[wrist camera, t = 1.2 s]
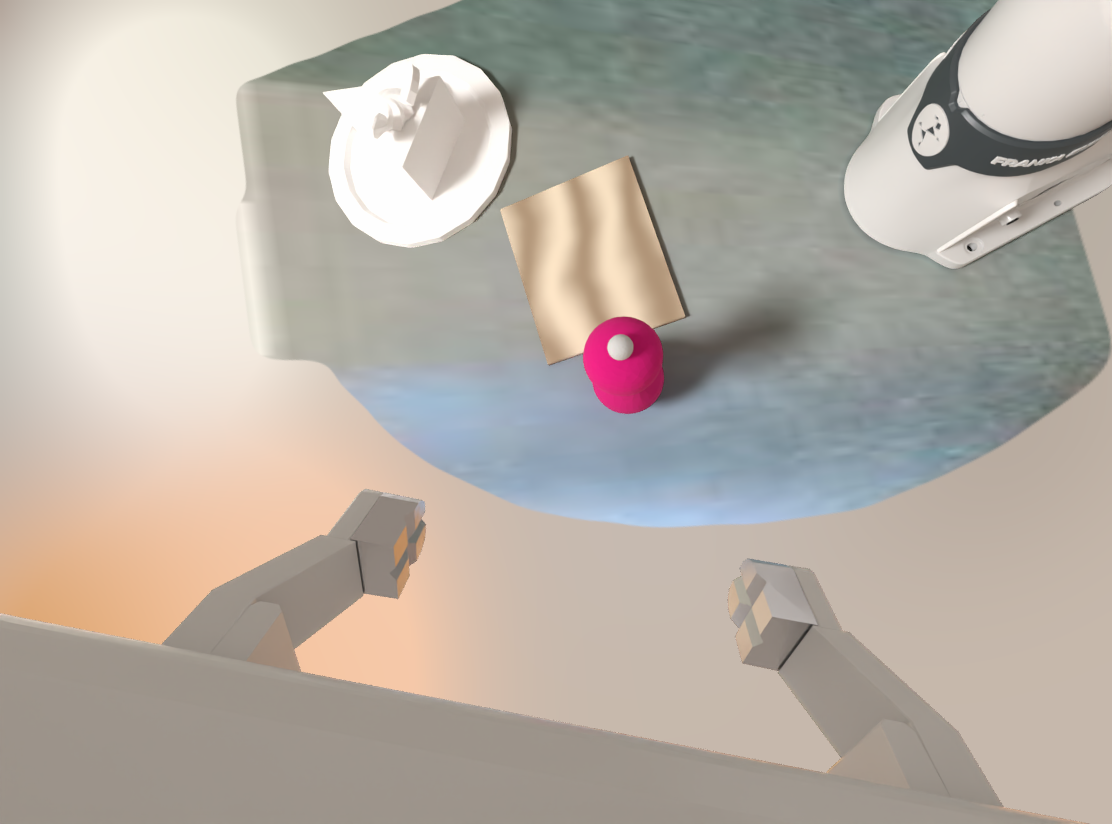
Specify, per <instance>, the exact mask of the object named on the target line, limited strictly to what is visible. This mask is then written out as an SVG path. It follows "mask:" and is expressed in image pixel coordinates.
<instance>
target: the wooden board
mask: <svg viewBox="0 0 1112 824" xmlns="http://www.w3.org/2000/svg"><path fill="white" fill-rule="evenodd" d="M500 211H501V214H502V217H503V220H504V224H505V227H506V230H507V233H508V237H509V240H510V243H511V246H512V249H513V253H514V256H515V259H516V262H517V266H518V269H519V272H520V275H521V279H522V282H523V285H524V288H525V292H526V295H527V298H528V301H529V305H530V308H531V311H532V314H533V317H534V321H535V324H536V327H537V330H538V334H539V337H540V340H541V343H542V347H543V350H544V353H545V356H546V360H547V363H548V365H552V364H555V363H558V362H560V361H563V360H566V359H569V358H572V357H575V356H577V355H580V354H583V352H584V347H585V344H586V341H587V339H588V337H589V335H590V334H591V332H592V331H593V330H594V329H595V328H596V327H597V326H598V325H599V324H601V323H603V322H604V321H606V320H608V319H611V318H614V317H623V316H625V317H633V318H636V319H639V320H641V321H644V322H645V323H646V324H648V325H649V326H650V327H651V328H652V329H655V328H657V327H660V326H663V325H666V324H669V323H672V322H675V321H677V320H680V319H683V318H685V314H684V311H683V308H682V306H681V303H680V300H679V297H678V294H677V292H676V289H675V286H674V283H673V280H672V278H671V275H670V272H669V269H668V266H667V263H666V261H665V258H664V255H663V252H662V249H661V247H660V244H659V241H658V238H657V235H656V233H655V230H654V227H653V224H652V221H651V219H650V216H649V213H648V210H647V207H646V205H645V202H644V199H643V196H642V193H641V190H640V188H639V185H638V182H637V179H636V176H635V174H634V171H633V168H632V165H631V162H630V160H629V157H628V156H625V157H623V158H621V159H618V160H616V161H614V162H611V163H609V164H607V165H604V166H602V167H599V168H597V169H595V170H592V171H590V172H588V173H585V174H583V175H580V176H578V177H576V178H573V179H571V180H569V181H566V182H564V183H562V184H559V185H557V186H554V187H552V188H550V189H547V190H545V191H543V192H540V193H538V194H536V195H533V196H531V197H528V198H526V199H524V200H521V201H519V202H517V203H514V204H512V205H510V206H507V207H505V208H502V209H500Z"/></svg>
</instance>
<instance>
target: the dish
mask: <svg viewBox="0 0 1112 824" xmlns="http://www.w3.org/2000/svg"><path fill="white" fill-rule="evenodd" d="M323 94H324V95H325V96H326V97H327V98H328V99H329V100H330V101H331V102H332V103H333V105H334V106H335V107H336V108H337V109H338V110H339V111H340V112H341V113H342V115H341V117H340V120H339V122H338V125H337V127H336V129H335V132H334V134H333V137H332V139H331V150H330V161H329V175H330V179H331V183H332V187H333V191H334V195H335V199H336V201H337V203H338V204H339V206H340V207H341V209H342V210H343V211H344V213H345V214H346V216H347V217H348V219H349V220H350V221H351V223H352V224H353V225H354V226H356V227H357V228H358V229H360V230H362V231H363V232H365V233H366V234H368V235H370V236H371V237H373V238H374V239H376V240H378V241H379V242H381V243H384V244H390V245H397V246H403V247H409V248H413V247H418V246H422V245H427V244H432V243H436V242H441V241H444V240H446V239H447V238H449V237H451V236H452V235H454V234H455V233H457V232H459V231H460V230H462V229H464V228H465V227H467V226H469V225H470V224H472V223H473V222H474V221H475V220H476V218H477V217H478V216H479V215H480V214H481V213H482V211H483V210H484V209H485V208H486V207H487V206H488V204H489V203H490V202H491V201H492V200H493V199H494V197H495V196H496V194H497V192H498V190H499V187H500V185H501V182H502V180H503V178H504V175H505V173H506V171H507V168H508V166H509V163H510V151H511V137H512V127H511V124H510V121H509V117H508V114H507V111H506V108H505V104H504V101H503V98H502V95H501V93H500V91H499V90H498V89H497V88H496V87H495V85H494V84H493V83H492V82H491V81H490V80H489V78H488V77H487V76H486V75H485V74H484V72H483V71H482V70H481V69H480V68H478V67H476V66H474V65H472V64H469V63H467V62H465V61H463V60H461V59H459V58H457V57H455V56H448V55H430V54H422V55H418V56H415V57H412V58H408V59H405V60H402V61H399V62H395V63H392V64H391V65H389V66H388V67H386V68H385V69H384V70H382V71H381V72H379V73H378V74H376V75H375V76H374V77H372V78H371V79H369V80H368V81H366V82H365V83H364V84H363V86H362V87H356V88H349V89H342V90H335V91H328V92H323Z"/></svg>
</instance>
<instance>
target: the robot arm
mask: <svg viewBox="0 0 1112 824" xmlns="http://www.w3.org/2000/svg"><path fill="white" fill-rule="evenodd" d="M1111 185H1112V0H998V1H997V2H996V4H995V5H994V6H993V7H992V8H991V9H990V10H988V11H987V12H985V13H984V14H983V15H982V16H981V17H979V18H978V19H977V20H976V21H975V22H974V23H973V24H972V25H971V26H970V27H969V28H968V30H966V31H965V32H964V34H962V35H961V36H960V38H958V39H957V40H956V42H955V43H954V44H953V45H952V47H951V48H950V49H949V50H948V51H947V53H945V52H943V53H941V54H939V55H938V56H937V57H935V58H934V59H933V60H932V61H931V62H930V63H929V64H928V65H927V67H926V68H925V69H924V70H923V71H922V72H921V73H920V74H919V76H918V77H917V78H916V79H915V80H914V81H913V82H912V83H911V84H910V86H909V87H908V88H907V89H906V90H905V91H904V92H903V94H900V95H896V96H892V97H890V98H888V99H887V100H886V101H885V102H884V103H883V104H882V105H881V106H880V107H879V109H878V110H877V113H876V115H875V118H874V121H873V125H872V129H871V132H870V133H869V135H868V136H867V138H866V139H865V140H864V141H863V143H862V144H861V145H860V146H859V148H858V149H857V150H856V152H855V153H854V155H853V157H852V158H851V160H850V163H849V165H848V168H847V171H846V175H845V181H844V194H845V200H846V204H847V207H848V209H849V212H850V214H851V216H852V217H853V219H854V220H855V222H856V223H857V224H858V226H859V227H860V228H861V229H862V230H863V231H864V232H865V233H866V234H868V235H869V236H870V237H872V238H873V239H875V240H876V241H878V242H880V243H882V244H884V245H886V246H889V247H892V248H895V249H898V250H903V251H908V252H914V253H919V254H923V255H926V256H927V257H929V258H931V259H932V260H934V261H936V262H937V263H939V264H941V265H943V266H945V267H948V268H951V269H958V268H961V267H964V266H966V265H967V264H969V263H971V262H973V261H975V260H977V259H979V258H981V257H982V256H984V255H986V254H988V253H990V252H992V251H994V250H995V249H997V248H999V247H1001V246H1003V245H1005V244H1007V243H1009V242H1010V241H1012V240H1014V239H1016V238H1018V237H1020V236H1022V235H1023V234H1025V233H1027V232H1029V231H1031V230H1033V229H1035V228H1036V227H1038V226H1040V225H1042V224H1044V223H1046V222H1048V221H1050V220H1051V219H1053V218H1055V217H1057V216H1059V215H1061V214H1063V213H1064V212H1066V211H1068V210H1070V209H1072V208H1074V207H1075V206H1077V205H1079V204H1081V203H1083V202H1085V201H1087V200H1089V199H1091V198H1092V197H1094V196H1096V195H1098V194H1099V193H1101V192H1102V191H1104V190H1105V189H1107V188H1108V187H1110V186H1111ZM967 246H969V247H971V249H972V251H969V250H968V249H967ZM424 513H425V503H424V501H422V500H419V499H414V498H409V497H404V496H400V495H395V494H389V493H383V492H378V491H373V490H369V489H364V490H363V491H361V492H360V493H359V494H358V495H357V497H356V498H355V499H354V501H353V502H352V504H351V505H350V506H349V507H348V508H347V510H346V511H345V512H344V514H343V515H342V516H341V518H340V519H339V520H338V522H337V523H336V524H335V526H334V527H333V528H332V530H331V531H330V532H329V534H328V535H327V536H324V535H320V536H318V537H316V538H314V539H312V540H310V541H308V542H306V543H304V544H302V545H300V546H298V547H296V548H294V549H292V550H290V551H288V552H286V553H284V554H282V555H280V556H278V557H276V558H274V559H272V560H270V561H268V562H267V563H264V564H262V565H260V566H259V567H256V568H254V569H253V570H251V571H249V572H247V573H245V574H243V575H241V576H239V577H237V578H235V579H233V580H231V581H229V582H227V583H225V584H223V585H221V586H219V587H217V588H215V589H213V590H212V591H211V592H210V593H209V594H208V595H207V596H206V597H205V598H204V599H203V600H202V601H201V603H200V604H199V605H198V606H197V607H196V608H195V609H194V610H193V611H192V612H191V613H190V614H189V615H188V617H187V618H186V619H185V620H184V621H183V622H182V623H181V624H180V625H179V626H178V627H177V628H176V629H175V631H174V632H173V633H172V634H171V635H170V636H169V637H168V638H167V639H166V640H165V641H164V642H163V643H162V645H159V644H155V643H149V642H144V641H139V640H134V639H129V638H124V637H118V636H113V635H108V634H103V633H97V632H93V631H88V630H82V629H77V628H72V627H67V626H62V625H57V624H52V623H46V622H41V621H36V620H30V619H26V618H21V617H16V616H11V615H6V614H1V613H0V824H1088V823H1082V822H1077V821H1072V820H1067V819H1062V818H1057V817H1051V816H1046V815H1041V814H1036V813H1031V812H1025V811H1020V810H1015V809H1010V808H1004V806H1003V805H1002V803H1001V802H1000V800H999V798H998V797H997V795H996V793H995V792H994V790H993V788H992V787H991V785H990V783H989V782H988V780H987V778H986V777H985V775H984V773H983V772H982V770H981V768H980V767H979V765H978V763H977V762H976V760H975V758H974V757H973V755H972V753H971V752H970V750H969V748H968V747H967V745H966V743H965V742H964V740H963V738H962V737H961V735H960V733H959V732H958V731H957V730H956V729H955V728H954V727H953V726H952V725H951V724H949V722H947V721H946V720H945V719H944V718H943V717H942V716H941V715H940V714H939V713H938V712H936V711H935V710H934V709H933V708H932V707H931V706H930V705H929V704H928V703H926V702H925V701H924V700H923V699H922V698H921V697H920V696H919V695H918V694H917V693H916V692H914V691H913V690H912V689H911V688H910V687H909V686H908V685H907V684H906V683H905V682H903V681H902V680H901V679H900V678H899V677H898V676H897V675H896V674H895V673H894V672H893V671H891V670H890V669H889V668H888V667H887V666H886V665H885V664H884V663H883V662H882V661H880V660H879V659H878V658H877V657H876V656H875V655H874V654H873V653H872V652H871V651H869V650H868V649H867V648H866V647H865V646H864V645H863V644H862V643H861V642H860V641H858V640H857V639H856V638H855V637H854V636H853V635H852V634H851V633H850V632H846V631H843V630H842V628H841V626H840V624H839V622H838V620H837V618H836V616H835V614H834V612H833V610H832V608H831V606H830V604H829V602H828V600H827V598H826V596H825V594H824V592H823V590H822V588H821V586H820V583H819V581H818V579H817V577H816V575H815V574H814V572H812V571H811V570H810V569H806V568H801V567H795V566H787V565H783V564H777V563H771V562H765V561H760V560H754V559H746V560H745V561H743V563H742V565H741V567H740V572H741V575H742V576H740V577H738V578H736V579H735V580H733V582H732V584H731V586H730V588H729V593H728V610H729V614H730V619H731V620H732V621H733V622H734V623H735V624H736V626H737V627H738V628H739V630H738V632H737V633H736V635H735V638H736V641H737V646H738V649H739V653H740V657H741V661H742V663H743V664H748V665H753V666H757V667H762V668H767V669H771V670H776V671H779V672H778V674H779V675H780V676H781V678H782V679H783V680H784V682H785V683H786V684H787V686H788V687H789V688H790V690H791V691H792V693H793V694H794V695H795V696H796V698H797V699H798V700H799V702H800V703H801V705H802V706H803V707H804V709H805V710H806V711H807V713H808V714H809V715H810V717H811V718H812V719H813V721H814V722H815V723H816V725H817V726H818V727H819V729H820V730H821V732H822V733H823V734H824V735H825V737H826V738H827V740H828V741H829V742H830V744H831V745H832V746H833V748H834V749H835V750H836V752H837V753H838V754H839V756H840V757H841V759H840V760H839V761H838V762H836V763H835V764H834V765H833V766H832V767H831V768H830V769H829V770H828V771H827V773H823V772H818V771H813V770H807V769H802V768H797V767H792V766H786V765H782V764H776V763H771V762H766V761H760V760H755V759H750V758H745V757H740V756H735V755H730V754H725V753H719V752H714V751H709V750H704V749H699V748H693V747H688V746H683V745H678V744H672V743H668V742H663V741H657V740H652V739H647V738H642V737H636V736H632V735H626V734H621V733H616V732H611V731H605V730H600V729H595V728H589V727H584V726H580V725H574V724H569V723H564V722H559V721H554V720H548V719H543V718H538V717H532V716H527V715H522V714H517V713H512V712H507V711H501V710H496V709H491V708H486V707H480V706H475V705H470V704H465V703H459V702H454V701H449V700H444V699H439V698H434V697H429V696H423V695H418V694H412V693H408V692H403V691H398V690H392V689H387V688H382V687H377V686H372V685H366V684H361V683H356V682H351V681H346V680H340V679H335V678H330V677H325V676H320V675H315V674H309V673H304V672H301V670H300V666H299V663H298V660H297V657H296V654H295V651H294V649H295V648H297V647H298V646H299V645H300V644H302V643H303V642H304V641H306V639H308V638H309V637H311V636H312V635H313V634H315V633H316V632H317V631H318V630H320V629H321V628H322V627H324V626H325V625H326V624H327V623H329V622H330V621H331V620H333V619H334V618H335V617H336V616H338V615H339V614H340V613H342V612H343V611H344V610H346V609H347V608H348V607H349V606H351V605H352V604H353V603H354V602H356V601H357V600H358V599H359V598H361V597H362V596H363V593H364V594H371V595H377V596H384V597H389V598H396V599H398V598H399V596H400V594H401V592H402V590H403V588H404V586H405V584H406V582H407V580H408V578H409V575H410V574H409V566H410V565H411V564H413V563H414V562H416V561H417V559H418V557H419V555H420V553H421V550H422V547H423V544H424V540H425V533H426V524H425V523H424V522H423V521H422V517H423V515H424Z"/></svg>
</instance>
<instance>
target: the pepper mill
mask: <svg viewBox="0 0 1112 824" xmlns="http://www.w3.org/2000/svg"><path fill="white" fill-rule="evenodd" d="M583 363H584V368H585V371H586V373H587V375H588V377H589V379H590V380H591V381H592V383H593V387H594V391H595V393H596V395H597V397H598V399H599V400H600V401H601V402H602V403H603V404H604V405H605V406H606V407H607V408H609V409H611V410H613V411H615V412H618V413H624V414H631V413H637V412H640V411H643V410H645V409H646V408H648V407H650V406H651V405H652V404H653V403H654V402H655V401H656V400H657V398H658V397H659V395H660V393H661V391H662V388H663V384H664V372H663V368H662V363H663V349H662V344H661V342H660V339H659V337H658V335H657V334H656V332H655V331H654V330H653V329H652V328H651V327H650V326H649V325H648V324H646V323H645V322H644V321H641V320H639V319H636V318H633V317H625V316H623V317H614V318H611V319H608V320H606V321H604V322H603V323H601V324H599V325H598V326H597V327H596V328H595V329H594V330H593V331H592V332H591V334H590V335H589V337H588V339H587V341H586V344H585V347H584V352H583Z"/></svg>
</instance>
